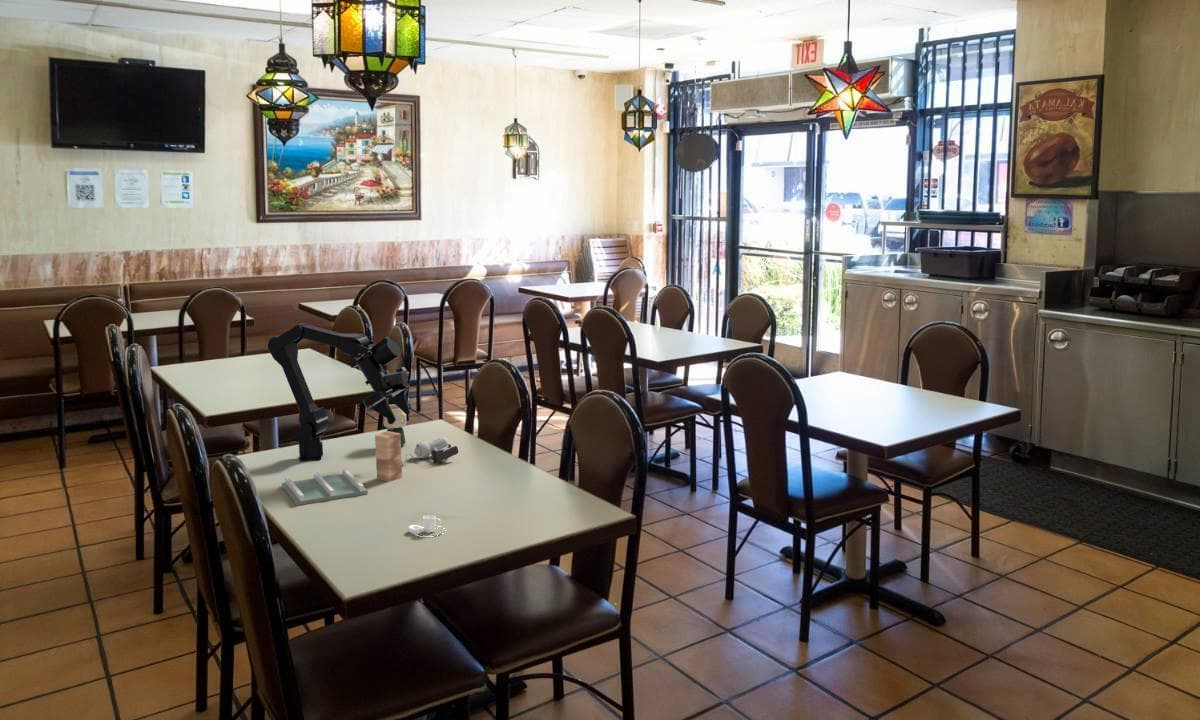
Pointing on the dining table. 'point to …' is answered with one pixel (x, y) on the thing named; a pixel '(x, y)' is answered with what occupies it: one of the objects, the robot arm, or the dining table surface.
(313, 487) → the slot board
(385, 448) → the plug block
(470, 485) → the dining table surface
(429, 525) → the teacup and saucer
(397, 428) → the character mug
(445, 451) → the clip-on lamp
